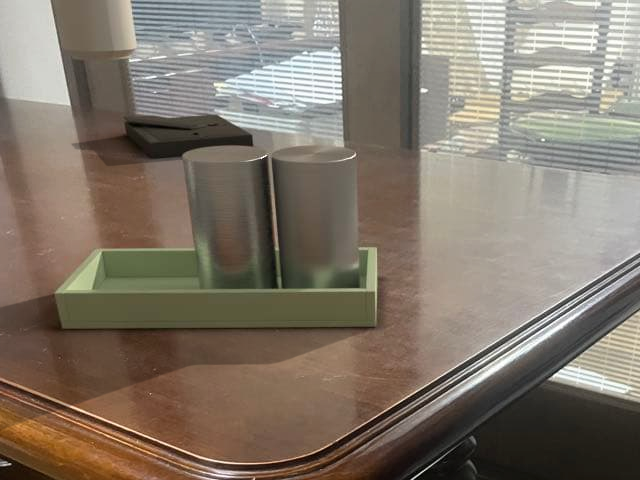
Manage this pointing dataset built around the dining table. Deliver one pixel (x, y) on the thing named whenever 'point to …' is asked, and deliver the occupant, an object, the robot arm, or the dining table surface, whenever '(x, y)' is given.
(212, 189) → the can
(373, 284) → the tray
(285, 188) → the can
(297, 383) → the dining table surface
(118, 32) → the can
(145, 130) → the picture frame
